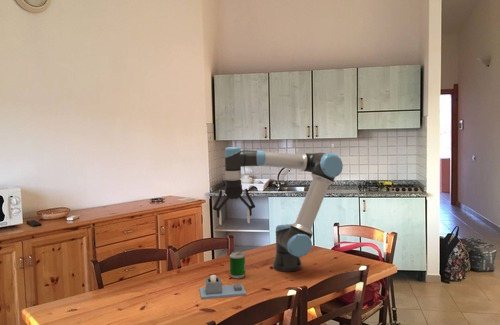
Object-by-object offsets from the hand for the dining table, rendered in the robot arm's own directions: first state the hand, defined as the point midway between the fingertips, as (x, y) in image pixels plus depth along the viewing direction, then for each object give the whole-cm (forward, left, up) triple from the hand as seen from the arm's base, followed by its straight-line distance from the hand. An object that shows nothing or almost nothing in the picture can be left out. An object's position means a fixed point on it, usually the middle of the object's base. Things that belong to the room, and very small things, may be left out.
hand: (234, 223), depth 204 cm
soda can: (-2, -8, -29) cm, 30 cm away
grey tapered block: (+12, +12, -28) cm, 33 cm away
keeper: (+8, +12, -29) cm, 32 cm away
